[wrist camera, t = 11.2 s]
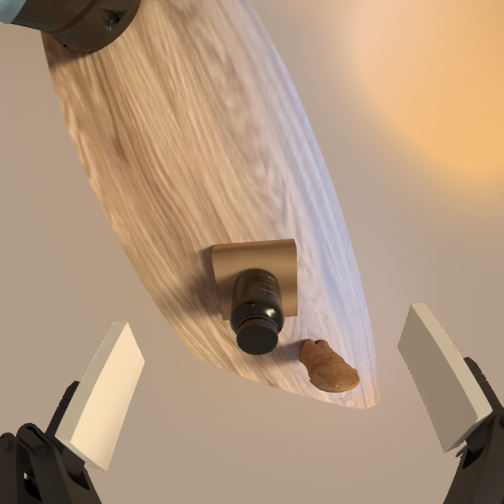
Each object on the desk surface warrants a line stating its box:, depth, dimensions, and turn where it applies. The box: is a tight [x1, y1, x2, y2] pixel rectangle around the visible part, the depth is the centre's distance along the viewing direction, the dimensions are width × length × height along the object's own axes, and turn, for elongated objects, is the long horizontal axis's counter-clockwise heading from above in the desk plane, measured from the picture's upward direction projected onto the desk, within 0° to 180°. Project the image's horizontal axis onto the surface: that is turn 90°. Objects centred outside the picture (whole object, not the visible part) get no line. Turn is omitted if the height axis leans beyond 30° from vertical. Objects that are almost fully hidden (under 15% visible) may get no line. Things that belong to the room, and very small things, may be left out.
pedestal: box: [211, 239, 297, 320], centre depth 43 cm, size 12×12×3 cm
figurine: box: [299, 340, 359, 393], centre depth 43 cm, size 8×8×15 cm
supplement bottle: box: [230, 268, 284, 355], centre depth 36 cm, size 7×7×12 cm
